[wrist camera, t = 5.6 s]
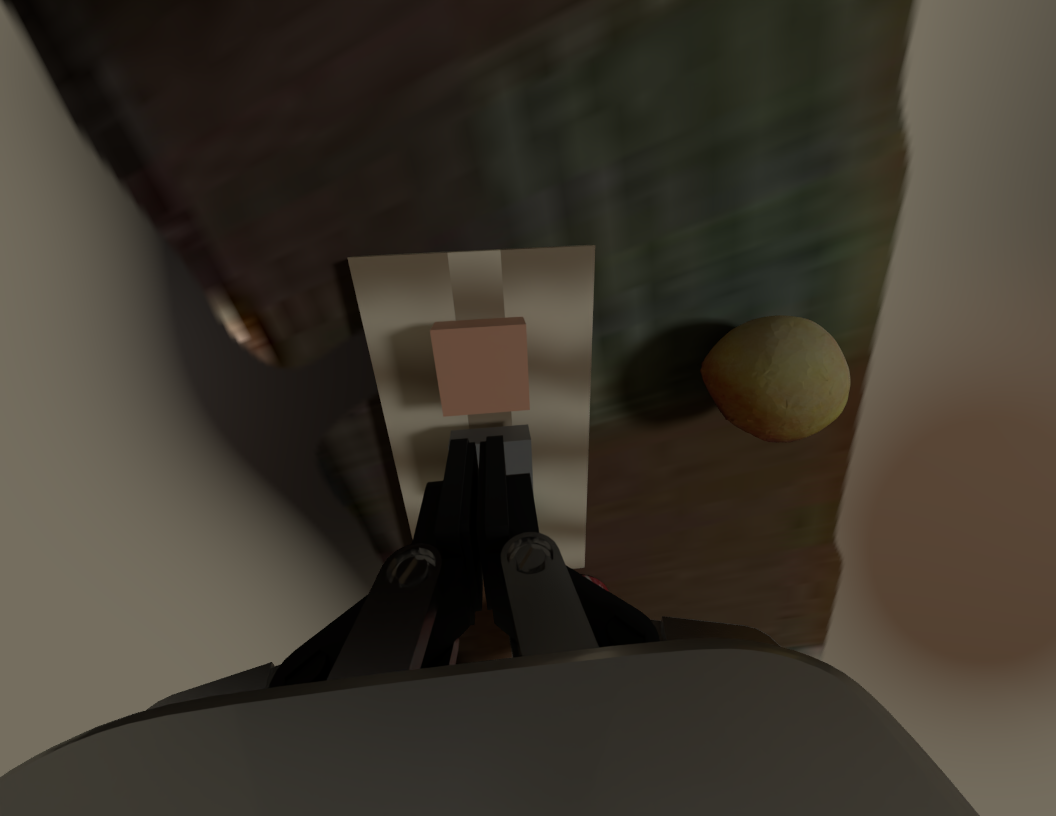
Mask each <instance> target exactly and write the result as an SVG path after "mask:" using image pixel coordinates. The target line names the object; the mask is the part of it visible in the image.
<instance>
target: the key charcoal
mask: <svg viewBox="0 0 1056 816" xmlns="http://www.w3.org/2000/svg"><path fill="white" fill-rule="evenodd" d="M499 435H503V441H504V453H505V464H506V475H511V474H522V473H530V476H531V483H532V489H533V470H532V447H531V436H530V431H529V427H528V424H526V425H514V426H502V427H489V428H477V429H465V430H452V431H451V433H450V439H449V444H448V450H449V445H450V440H451V439H463V438H468V440H469V442H475V445H476V452H477V460H478V468H479V452H480V441H486V437H487V436H499ZM533 495H534V493H533Z"/></svg>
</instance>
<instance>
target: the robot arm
mask: <svg viewBox="0 0 1056 816" xmlns="http://www.w3.org/2000/svg"><path fill="white" fill-rule="evenodd" d="M483 580H484V587H485V594H486V601H487V608H488V610H491V609H493V616H494V623H495V624H496V625H497V626H498V627H499V628H501V629H502V630H503V631H504V632H505V633H507V634H508V635H509V640H510V646H511V651H512V656H513V658H506V659H497V660H489V661H481V662H472V663H464V664H456V665H455V663H456V659H457V654H458V649H459V637H460V636H461V635H462V634H463V633H464V631H465V630H466V629H467V628H468V627H469V626H470V625H474V621H475V611H482V590H483ZM0 816H979V815H978V813H977V812H976V811H975V810H974V808H973V807H972V806H971V805H970V804H969V802H968V801H967V800H966V799H965V798H964V797H963V795H962V794H961V793H960V792H959V790H958V789H957V788H956V787H955V786H954V784H953V783H952V782H951V781H950V780H949V778H948V777H947V776H946V775H945V774H944V773H943V771H942V770H941V769H940V768H939V767H938V766H937V765H936V763H935V762H934V761H933V760H932V759H931V758H930V757H929V755H928V754H927V753H926V752H925V751H924V750H923V749H922V748H921V746H920V745H919V744H918V743H917V742H916V741H915V740H914V738H913V737H912V736H911V735H910V734H909V733H908V732H907V731H906V730H905V729H904V728H903V727H902V726H901V725H900V723H898V721H897V720H896V719H895V718H894V717H893V716H892V715H891V714H890V713H889V712H888V711H887V710H886V709H885V708H884V707H883V706H882V705H881V704H880V703H879V702H878V701H877V700H876V699H875V698H874V697H873V696H872V695H871V694H870V693H869V692H867V691H866V690H865V689H864V688H863V687H862V686H860V685H859V684H858V683H857V682H856V681H854V680H853V679H851V678H850V677H849V676H847V675H846V674H845V673H843V672H841V671H840V670H838V669H836V668H834V667H833V666H831V665H829V664H827V663H825V662H823V661H820V660H818V659H816V658H814V657H811V656H808V655H805V654H803V653H800V652H797V651H794V650H790V649H787V648H783V647H780V646H779V645H778V644H777V643H776V642H775V641H774V640H773V639H772V638H771V637H770V636H768V635H767V634H765V633H763V632H762V631H760V630H758V629H755V628H752V627H748V626H743V625H734V624H726V623H717V622H708V621H699V620H690V619H682V618H673V617H664V616H662V620H661V621H657V620H650V619H649V618H648V617H647V616H646V615H644V614H643V613H642V612H641V611H639V610H638V609H636V608H634V607H633V606H631V605H630V604H628V603H626V602H625V601H623V600H621V599H620V598H618V597H617V596H615V595H613V594H612V593H610V592H608V591H607V590H605V589H604V588H602V587H600V586H599V585H597V584H596V583H594V582H592V581H591V580H589V579H587V578H586V577H584V576H583V575H581V574H579V573H578V572H576V571H574V570H573V569H571V568H570V567H568V566H566V565H565V562H564V560H563V558H562V555H561V553H560V550H559V548H558V546H557V545H556V543H555V541H553V540H552V539H551V538H550V537H549V536H546V535H544V534H542V533H539V527H538V521H537V514H536V508H535V502H534V495H533V489H532V483H531V476H530V473H522V474H511V475H506V464H505V453H504V441H503V435H499V436H487V437H486V441H480V452H479V468H478V460H477V452H476V445H475V442H469V440H468V438H463V439H451V440H450V445H449V451H448V457H447V462H446V468H445V473H444V479H443V481H434V482H428V483H427V484H426V487H425V491H424V496H423V500H422V504H421V508H420V512H419V516H418V521H417V525H416V529H415V533H414V537H413V541H412V544H410V545H407V546H404V547H402V548H400V549H399V550H397V551H395V552H394V553H393V554H392V555H390V556H389V557H388V558H387V559H386V561H385V562H384V564H383V565H382V567H381V569H380V571H379V573H378V575H377V577H376V580H375V582H374V584H373V586H372V588H371V590H370V592H369V594H368V595H367V596H366V597H364V598H363V599H361V600H360V601H359V602H358V603H356V604H355V605H354V606H353V607H351V608H350V609H348V610H347V611H346V612H345V613H343V614H342V615H341V616H339V617H338V618H337V619H335V620H334V621H333V622H332V623H330V624H329V625H328V626H326V627H325V628H324V629H322V630H321V631H320V632H318V633H317V634H316V635H315V636H313V637H312V638H311V639H309V640H308V641H307V642H305V643H304V644H303V645H302V646H300V647H299V648H298V649H296V650H295V651H294V652H293V653H292V654H291V655H290V656H289V657H287V658H286V659H285V660H284V662H283V663H282V664H281V665H278V666H274V664H273V663H272V662H270V663H267V664H265V665H261V666H259V667H255V668H252V669H250V670H246V671H243V672H240V673H237V674H234V675H231V676H228V677H225V678H222V679H219V680H216V681H213V682H210V683H207V684H204V685H201V686H198V687H195V688H192V689H189V690H186V691H182V692H180V693H177V694H174V695H171V696H169V697H167V698H165V699H163V700H161V701H158V702H157V703H155V704H154V705H153V706H151V707H150V708H148V709H147V710H146V711H142V712H138V713H135V714H132V715H129V716H126V717H123V718H121V719H118V720H115V721H112V722H109V723H107V724H103V725H101V726H98V727H95V728H93V729H91V730H89V731H86V732H84V733H82V734H80V735H78V736H75V737H73V738H71V739H69V740H67V741H65V742H62V743H60V744H58V745H56V746H53V747H51V748H50V749H48V750H46V751H44V752H42V753H40V754H38V755H36V756H34V757H33V758H31V759H29V760H27V761H26V762H24V763H22V764H21V765H19V766H17V767H15V768H14V769H12V770H10V771H9V772H8V773H6V774H4V775H3V776H2V777H0Z"/></svg>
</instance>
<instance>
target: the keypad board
mask: <svg viewBox="0 0 1056 816" xmlns="http://www.w3.org/2000/svg"><path fill="white" fill-rule="evenodd" d="M348 263H349V267H350V271H351V276H352V280H353V284H354V288H355V293H356V297H357V301H358V306H359V310H360V314H361V319H362V323H363V327H364V332H365V336H366V340H367V344H368V349H369V353H370V357H371V361H372V366H373V370H374V375H375V379H376V383H377V388H378V392H379V396H380V401H381V405H382V409H383V413H384V418H385V422H386V426H387V431H388V435H389V439H390V444H391V448H392V452H393V457H394V461H395V465H396V469H397V474H398V478H399V482H400V487H401V491H402V495H403V500H404V504H405V508H406V513H407V517H408V521H409V526H410V530H411V534H412V538H413V537H414V533H415V529H416V525H417V521H418V516H419V512H420V508H421V504H422V500H423V496H424V491H425V487H426V484H427V483H428V482H434V481H443V479H444V473H445V468H446V462H447V457H448V451H449V450H448V444H449V439H450V433H451V431H452V430H465V429H477V428H489V427H502V426H514V425H526V424H528V427H529V431H530V436H531V447H532V470H533V493H534V502H535V508H536V514H537V521H538V527H539V533H542V534H544V535H546V536H549V537H550V538H551V539H552V540H553V541H555V543H556V545H557V546H558V548H559V550H560V553H561V555H562V558H563V560H564V562H565V565H566V566H568V567H570V568H571V569H574V568H584V566H585V535H586V505H587V475H588V445H589V414H590V384H591V354H592V324H593V293H594V263H595V245H575V246H555V247H534V248H514V249H493V250H473V251H452V252H432V253H411V254H391V255H370V256H354V257H348ZM508 317H523V318H524V320H525V323H526V332H527V355H528V378H529V401H530V410H522V411H510V412H497V413H484V414H471V415H459V416H446V417H443V412H442V405H441V399H440V392H439V386H438V380H437V373H436V367H435V360H434V354H433V347H432V341H431V335H430V329H431V328H432V326H433V324H434V323H435V322H443V321H459V320H475V319H492V318H508Z"/></svg>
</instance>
